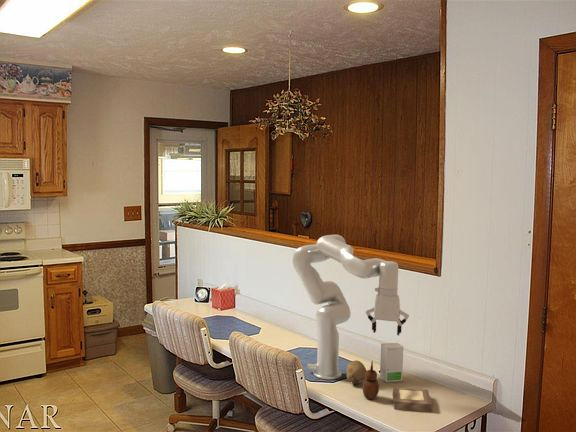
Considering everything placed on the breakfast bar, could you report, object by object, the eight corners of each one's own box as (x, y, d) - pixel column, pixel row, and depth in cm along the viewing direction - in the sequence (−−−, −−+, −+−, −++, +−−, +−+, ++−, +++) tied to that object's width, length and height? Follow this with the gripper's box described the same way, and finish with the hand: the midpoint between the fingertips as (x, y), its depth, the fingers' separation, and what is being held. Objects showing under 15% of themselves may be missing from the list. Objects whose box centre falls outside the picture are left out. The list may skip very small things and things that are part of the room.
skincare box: (385, 382, 236) (386, 347, 234) (378, 377, 242) (379, 343, 241) (403, 381, 238) (404, 346, 237) (396, 375, 244) (397, 341, 243)
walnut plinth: (394, 408, 209) (394, 400, 209) (392, 394, 223) (392, 386, 223) (431, 411, 207) (431, 403, 207) (427, 397, 221) (427, 389, 221)
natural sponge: (368, 381, 237) (369, 359, 236) (364, 388, 228) (365, 365, 228) (348, 378, 240) (348, 356, 239) (343, 385, 232) (344, 362, 231)
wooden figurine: (368, 393, 224) (369, 357, 223) (380, 397, 220) (382, 361, 219) (359, 398, 219) (360, 362, 217) (372, 402, 215) (373, 365, 214)
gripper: (365, 291, 219) (363, 333, 221) (408, 295, 214) (407, 338, 215) (368, 288, 226) (366, 328, 228) (410, 291, 221) (408, 333, 222)
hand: (386, 333), depth 221 cm, fingers open, 9 cm apart
